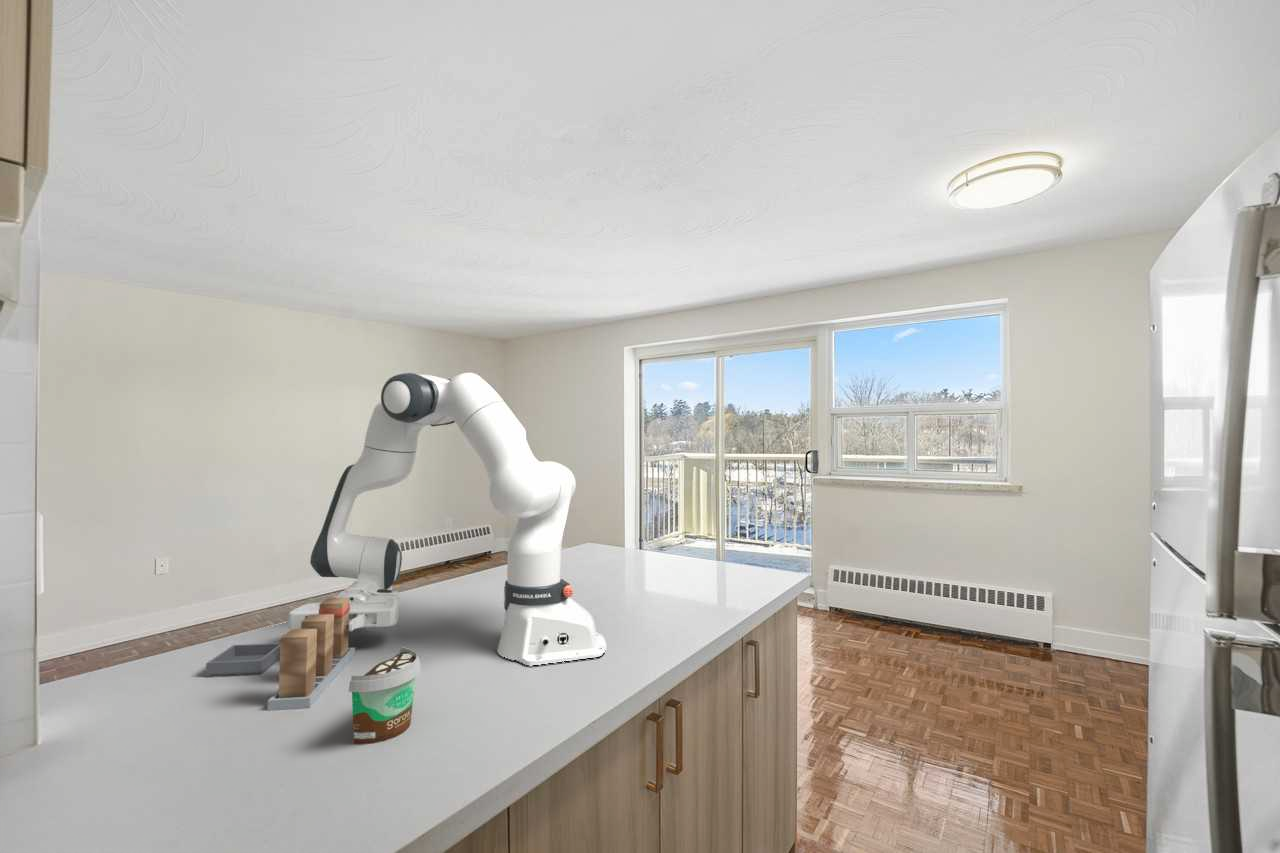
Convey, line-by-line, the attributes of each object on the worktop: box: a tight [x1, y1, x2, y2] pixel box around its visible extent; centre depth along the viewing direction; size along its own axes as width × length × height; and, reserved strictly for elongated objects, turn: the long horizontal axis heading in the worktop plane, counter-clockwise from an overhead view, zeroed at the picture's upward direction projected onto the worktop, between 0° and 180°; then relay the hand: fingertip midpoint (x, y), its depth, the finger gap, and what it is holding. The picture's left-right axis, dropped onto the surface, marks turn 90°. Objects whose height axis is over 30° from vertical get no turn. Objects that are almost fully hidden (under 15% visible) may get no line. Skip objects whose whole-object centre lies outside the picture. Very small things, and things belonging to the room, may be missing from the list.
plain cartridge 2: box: [301, 614, 334, 677], centre depth 101 cm, size 4×4×11 cm
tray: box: [205, 642, 280, 678], centre depth 106 cm, size 9×9×2 cm
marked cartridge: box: [319, 597, 350, 659], centre depth 109 cm, size 4×4×11 cm
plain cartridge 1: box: [278, 629, 317, 698], centre depth 93 cm, size 4×4×11 cm
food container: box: [348, 646, 422, 745], centre depth 84 cm, size 12×6×10 cm, turn 168°
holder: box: [266, 647, 356, 711], centre depth 101 cm, size 6×22×2 cm, turn 10°
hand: (332, 628), depth 108 cm, fingers closed on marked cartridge, 4 cm apart
